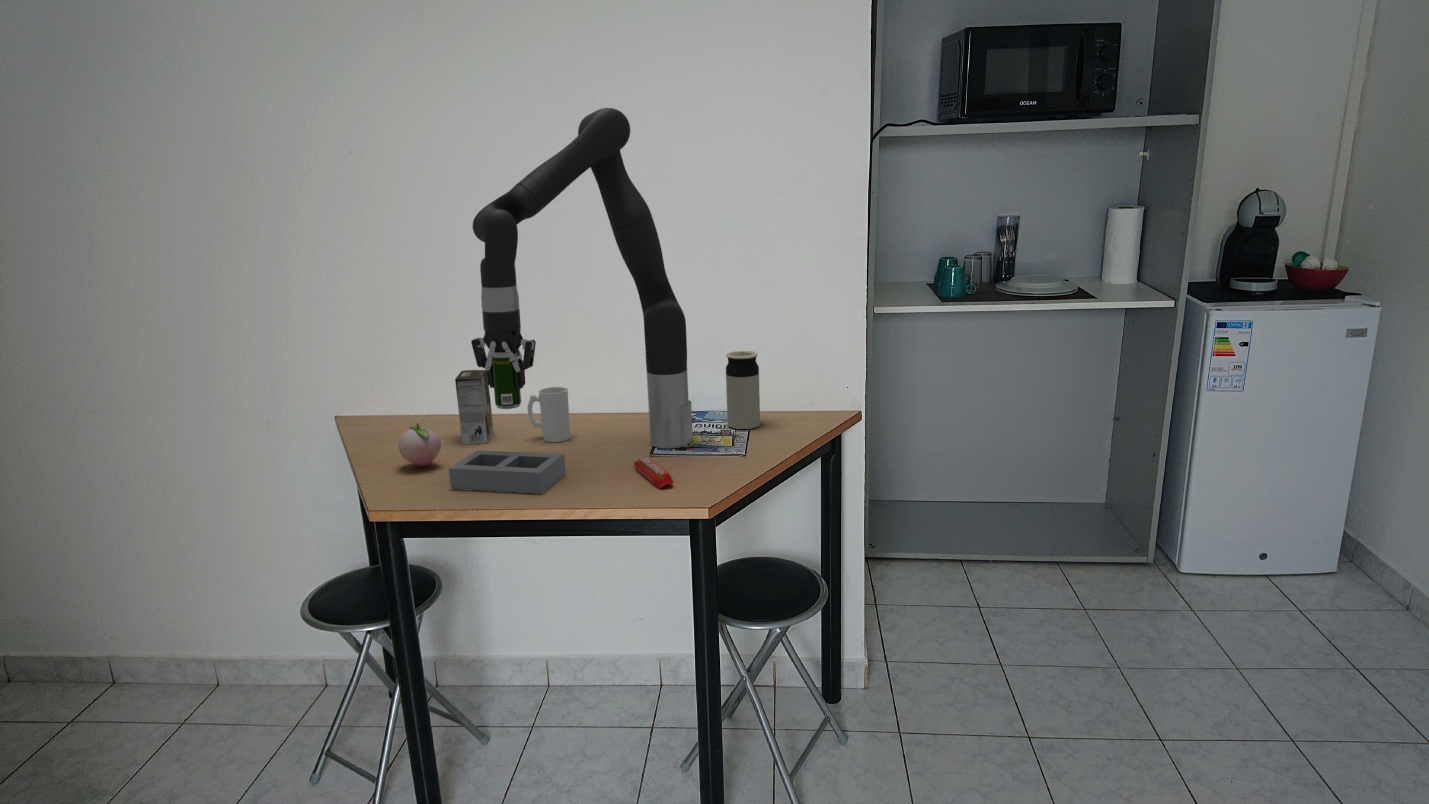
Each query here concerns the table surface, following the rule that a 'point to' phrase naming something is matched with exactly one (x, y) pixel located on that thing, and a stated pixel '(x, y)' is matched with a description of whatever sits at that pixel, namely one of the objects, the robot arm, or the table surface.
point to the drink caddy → (508, 471)
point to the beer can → (504, 381)
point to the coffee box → (474, 406)
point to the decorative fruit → (419, 445)
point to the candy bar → (653, 472)
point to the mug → (552, 413)
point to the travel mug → (742, 390)
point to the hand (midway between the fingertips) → (506, 387)
